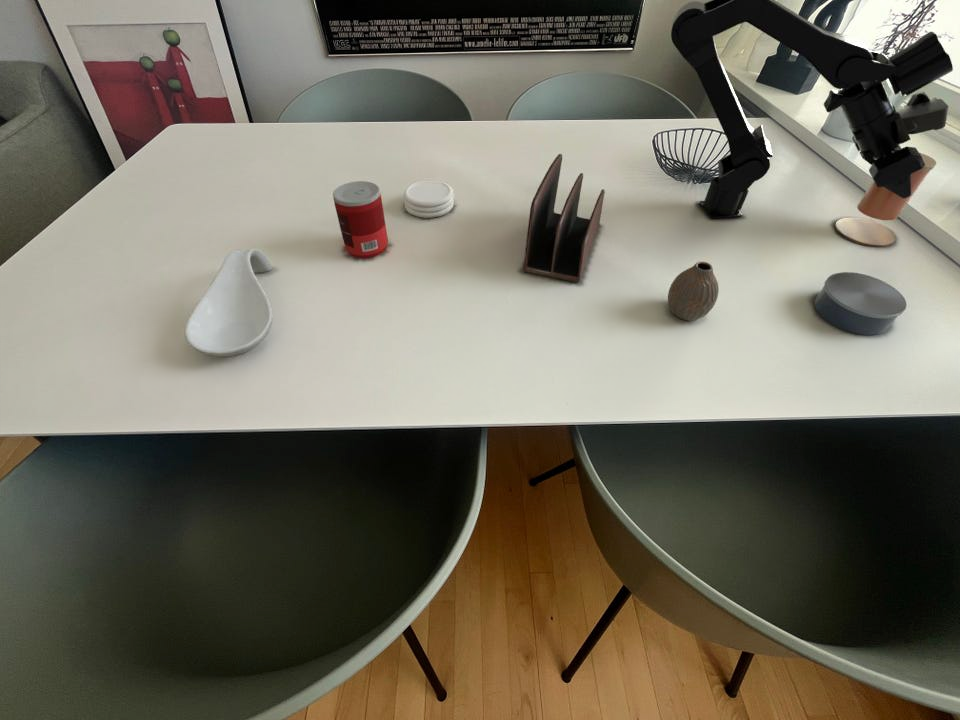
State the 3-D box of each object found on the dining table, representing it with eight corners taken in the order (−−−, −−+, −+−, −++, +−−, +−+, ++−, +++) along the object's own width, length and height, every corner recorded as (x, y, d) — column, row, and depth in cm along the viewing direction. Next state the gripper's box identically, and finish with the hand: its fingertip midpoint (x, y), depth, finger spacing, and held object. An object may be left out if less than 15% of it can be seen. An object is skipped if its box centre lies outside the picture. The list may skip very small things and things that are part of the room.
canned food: (396, 241, 90) (388, 185, 82) (372, 264, 85) (361, 206, 77) (362, 232, 92) (351, 177, 84) (337, 253, 87) (322, 197, 79)
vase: (710, 329, 73) (732, 283, 67) (664, 323, 74) (681, 277, 68) (705, 301, 78) (725, 255, 71) (661, 296, 79) (677, 250, 72)
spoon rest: (274, 364, 68) (257, 326, 63) (186, 373, 66) (161, 336, 61) (292, 267, 84) (280, 231, 79) (222, 273, 83) (205, 237, 78)
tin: (840, 338, 72) (855, 318, 69) (799, 294, 79) (811, 274, 76) (906, 333, 73) (924, 313, 70) (859, 289, 80) (874, 269, 77)
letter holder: (522, 272, 83) (528, 196, 73) (549, 217, 96) (558, 146, 86) (579, 284, 81) (593, 207, 71) (599, 226, 94) (614, 153, 84)
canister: (899, 224, 86) (938, 170, 79) (856, 214, 88) (890, 161, 81) (897, 207, 90) (934, 154, 83) (856, 199, 93) (888, 146, 85)
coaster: (396, 213, 97) (394, 197, 95) (418, 191, 104) (417, 175, 101) (441, 223, 94) (440, 206, 92) (461, 200, 101) (460, 184, 98)
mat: (856, 248, 89) (858, 246, 88) (824, 220, 96) (825, 218, 95) (906, 245, 89) (908, 243, 89) (870, 217, 96) (871, 216, 96)
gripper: (952, 100, 68) (983, 185, 74) (915, 64, 81) (944, 139, 86) (859, 148, 76) (893, 222, 81) (837, 108, 88) (869, 175, 94)
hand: (901, 188), depth 86 cm, fingers closed on canister, 6 cm apart
